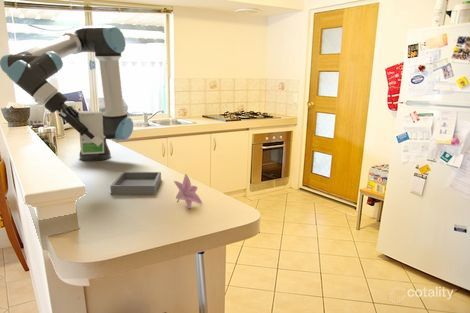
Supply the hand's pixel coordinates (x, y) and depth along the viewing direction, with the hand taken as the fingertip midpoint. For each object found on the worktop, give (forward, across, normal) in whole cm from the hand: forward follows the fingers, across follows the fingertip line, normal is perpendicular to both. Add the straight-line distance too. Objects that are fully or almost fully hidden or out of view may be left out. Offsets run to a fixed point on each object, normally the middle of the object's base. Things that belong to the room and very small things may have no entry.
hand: (101, 141), depth 130 cm
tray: (+22, +2, -4) cm, 22 cm away
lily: (+34, +24, +8) cm, 42 cm away
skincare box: (+1, 0, -6) cm, 6 cm away
